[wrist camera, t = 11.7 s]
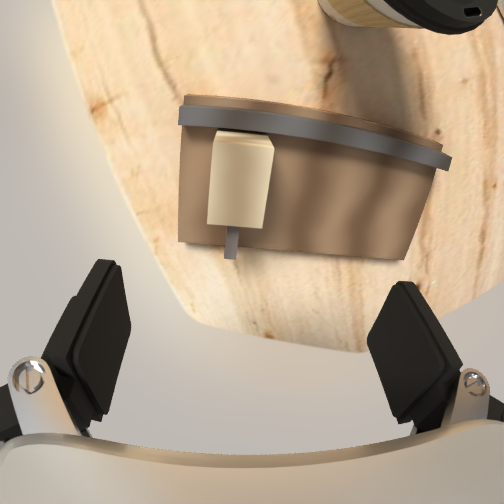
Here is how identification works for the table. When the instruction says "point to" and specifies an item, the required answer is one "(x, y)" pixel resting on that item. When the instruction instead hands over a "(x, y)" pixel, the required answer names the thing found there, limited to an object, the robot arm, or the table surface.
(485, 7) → the coffee cup
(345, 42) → the table surface
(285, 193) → the walnut board
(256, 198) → the block
